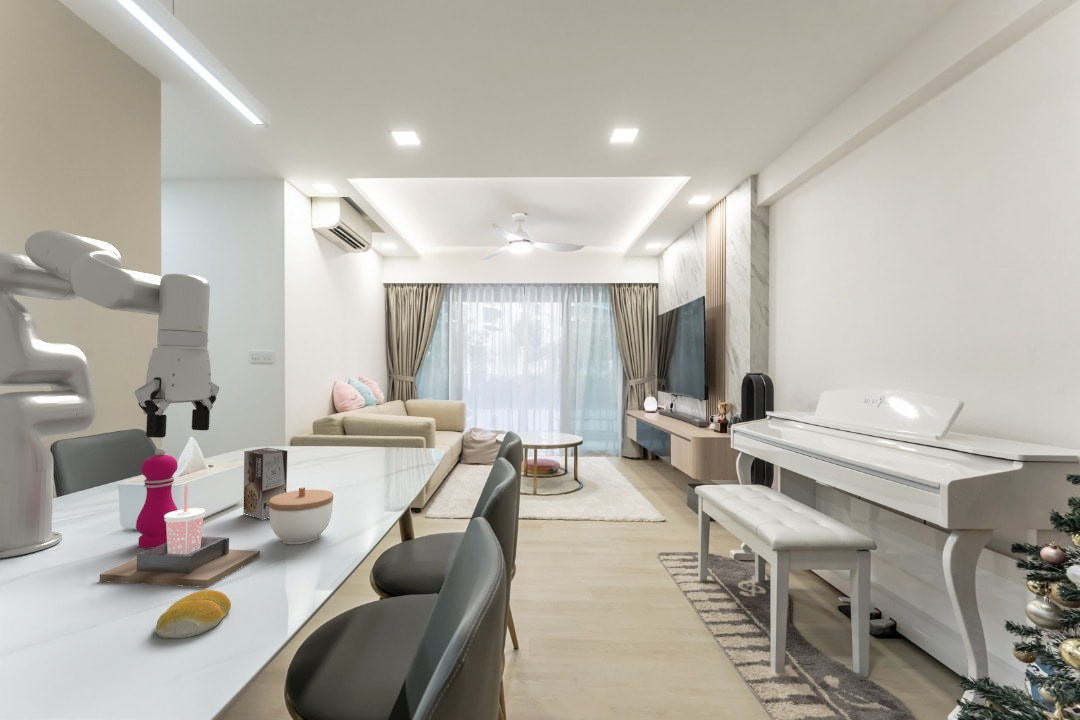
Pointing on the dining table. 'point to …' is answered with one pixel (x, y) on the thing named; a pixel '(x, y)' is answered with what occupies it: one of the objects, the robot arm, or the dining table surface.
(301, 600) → the dining table surface
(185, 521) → the beverage cup
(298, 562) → the dining table surface
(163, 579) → the cup holder
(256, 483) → the coffee box
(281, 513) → the lidded bowl
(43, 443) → the robot arm
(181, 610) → the bread roll
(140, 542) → the pepper mill
